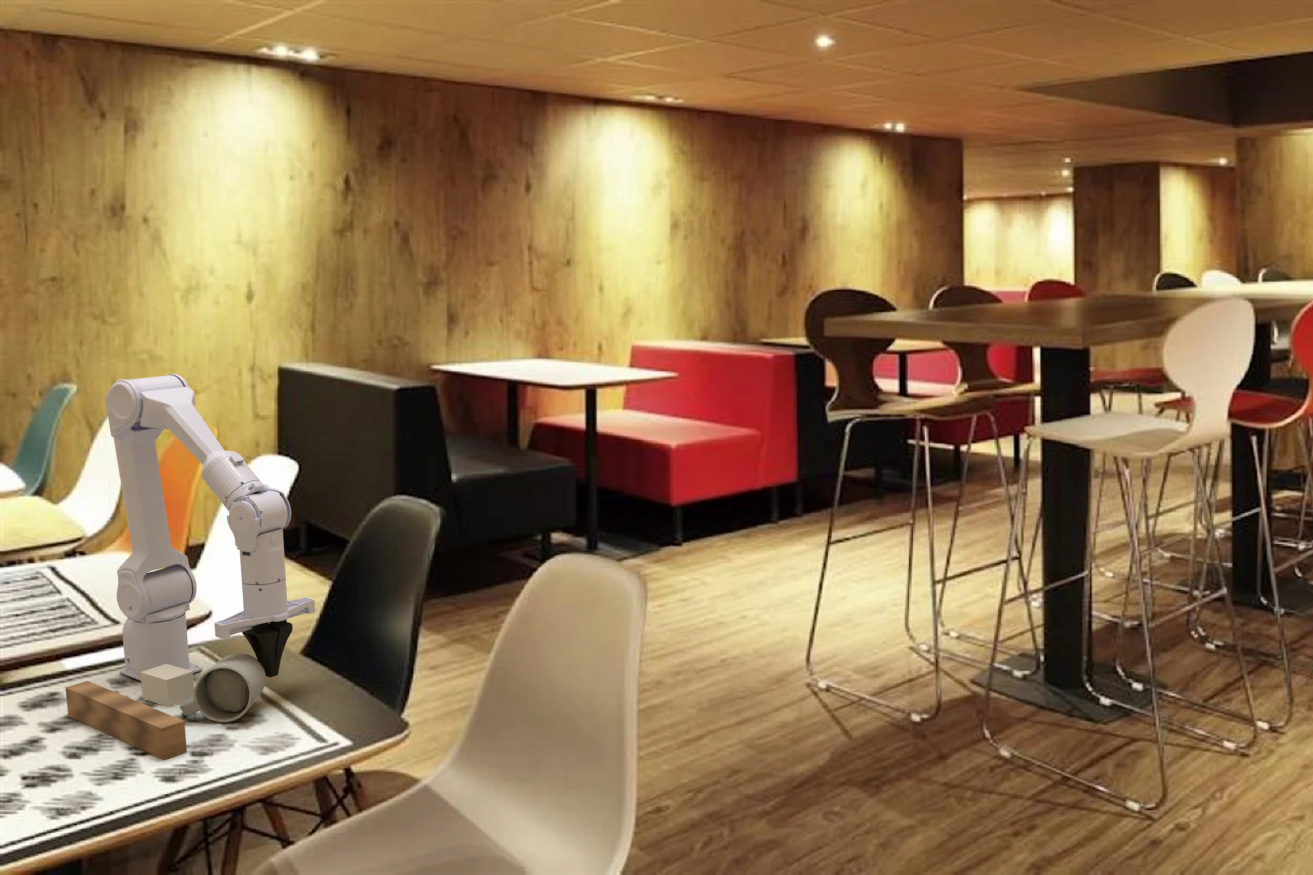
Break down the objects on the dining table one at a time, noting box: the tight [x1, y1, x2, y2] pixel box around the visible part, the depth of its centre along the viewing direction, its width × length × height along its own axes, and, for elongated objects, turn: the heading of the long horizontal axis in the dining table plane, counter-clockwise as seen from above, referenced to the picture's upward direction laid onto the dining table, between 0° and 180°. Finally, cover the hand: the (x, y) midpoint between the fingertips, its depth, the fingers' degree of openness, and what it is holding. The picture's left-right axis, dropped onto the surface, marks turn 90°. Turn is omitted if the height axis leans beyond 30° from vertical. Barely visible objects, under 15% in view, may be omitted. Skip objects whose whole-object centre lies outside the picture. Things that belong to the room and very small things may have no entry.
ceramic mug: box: [179, 652, 267, 723], centre depth 157 cm, size 11×8×8 cm
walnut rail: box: [65, 680, 188, 761], centre depth 150 cm, size 24×3×4 cm, turn 52°
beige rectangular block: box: [140, 664, 195, 708], centre depth 162 cm, size 6×4×4 cm, turn 57°
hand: (270, 675), depth 161 cm, fingers closed
